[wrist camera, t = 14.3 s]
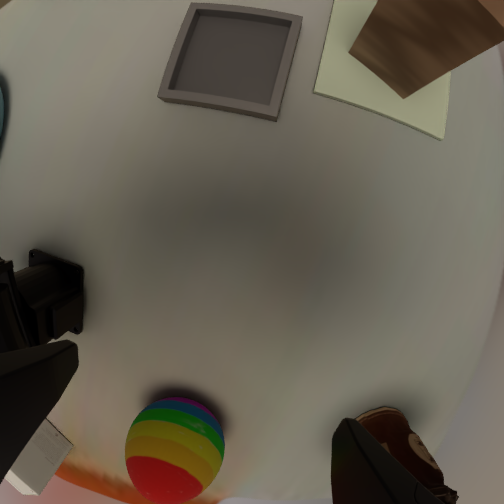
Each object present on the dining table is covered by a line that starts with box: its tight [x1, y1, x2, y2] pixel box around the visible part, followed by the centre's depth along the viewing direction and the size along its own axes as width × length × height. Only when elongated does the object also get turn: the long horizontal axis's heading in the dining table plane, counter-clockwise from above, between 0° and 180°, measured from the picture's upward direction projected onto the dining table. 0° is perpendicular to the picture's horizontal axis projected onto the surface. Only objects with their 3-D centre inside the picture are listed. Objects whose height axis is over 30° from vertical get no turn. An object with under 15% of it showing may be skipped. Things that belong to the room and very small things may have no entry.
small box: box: [4, 419, 73, 495], centre depth 23 cm, size 8×6×10 cm
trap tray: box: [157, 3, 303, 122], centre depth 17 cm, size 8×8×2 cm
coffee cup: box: [356, 407, 459, 504], centre depth 17 cm, size 9×8×13 cm
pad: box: [313, 0, 451, 141], centre depth 16 cm, size 10×10×1 cm
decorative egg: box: [125, 397, 225, 504], centre depth 20 cm, size 8×8×10 cm
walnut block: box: [348, 0, 504, 99], centre depth 10 cm, size 5×5×12 cm
